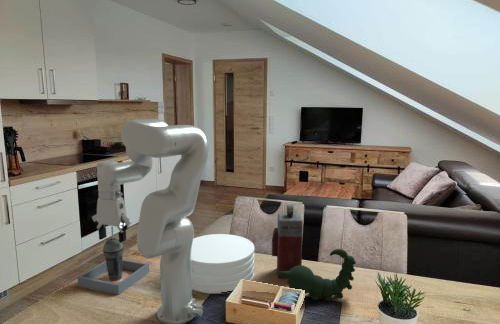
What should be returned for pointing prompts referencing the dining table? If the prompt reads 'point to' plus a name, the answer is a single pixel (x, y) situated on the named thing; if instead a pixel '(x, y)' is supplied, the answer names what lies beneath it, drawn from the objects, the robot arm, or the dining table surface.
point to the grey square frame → (113, 286)
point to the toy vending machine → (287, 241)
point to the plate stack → (221, 262)
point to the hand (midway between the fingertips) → (112, 239)
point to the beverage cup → (113, 258)
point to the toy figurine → (317, 285)
